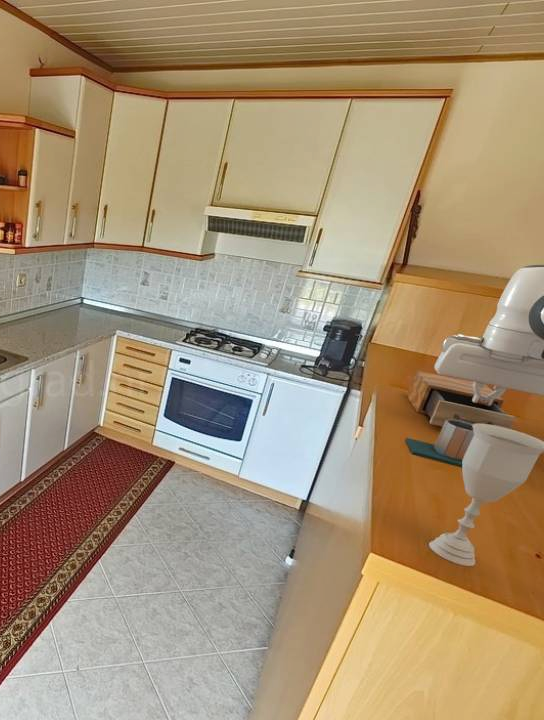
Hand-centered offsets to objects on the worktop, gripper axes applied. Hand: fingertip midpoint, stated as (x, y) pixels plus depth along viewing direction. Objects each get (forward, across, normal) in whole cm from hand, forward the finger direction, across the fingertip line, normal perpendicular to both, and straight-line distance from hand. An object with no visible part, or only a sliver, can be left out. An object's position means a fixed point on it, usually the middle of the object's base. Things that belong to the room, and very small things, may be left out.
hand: (480, 403), depth 106 cm
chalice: (+9, -14, -57) cm, 60 cm away
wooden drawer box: (+7, 0, +5) cm, 9 cm away
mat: (+8, -6, -16) cm, 19 cm away
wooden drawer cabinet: (+8, 0, +20) cm, 21 cm away
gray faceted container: (+8, -6, -16) cm, 19 cm away
